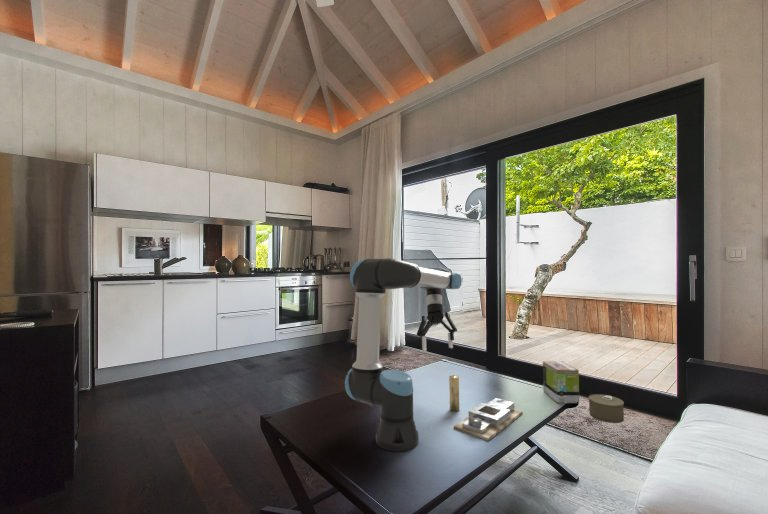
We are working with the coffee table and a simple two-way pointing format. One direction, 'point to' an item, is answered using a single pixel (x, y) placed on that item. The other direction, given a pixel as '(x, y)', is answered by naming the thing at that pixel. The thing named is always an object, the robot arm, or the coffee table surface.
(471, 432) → the joining board
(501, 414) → the metal square socket
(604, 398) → the olive round block
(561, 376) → the tea box
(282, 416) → the coffee table surface
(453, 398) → the pin
